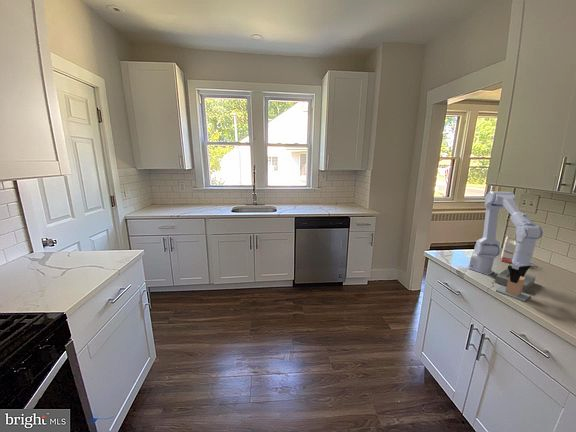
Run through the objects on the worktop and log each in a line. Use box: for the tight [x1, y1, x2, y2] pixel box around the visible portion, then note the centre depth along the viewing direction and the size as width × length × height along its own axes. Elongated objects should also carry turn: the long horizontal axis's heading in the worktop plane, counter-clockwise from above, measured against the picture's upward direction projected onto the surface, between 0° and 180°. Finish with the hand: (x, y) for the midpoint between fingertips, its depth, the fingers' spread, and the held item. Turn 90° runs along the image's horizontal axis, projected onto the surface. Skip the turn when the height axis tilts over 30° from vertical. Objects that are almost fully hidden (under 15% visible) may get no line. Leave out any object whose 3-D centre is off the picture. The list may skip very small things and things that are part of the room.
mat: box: [495, 285, 531, 302], centre depth 111 cm, size 10×8×1 cm
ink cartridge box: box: [500, 235, 517, 264], centre depth 146 cm, size 9×5×15 cm, turn 141°
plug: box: [505, 276, 525, 296], centre depth 110 cm, size 4×4×8 cm
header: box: [494, 267, 536, 293], centre depth 121 cm, size 11×16×4 cm
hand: (516, 279), depth 110 cm, fingers open, 7 cm apart
